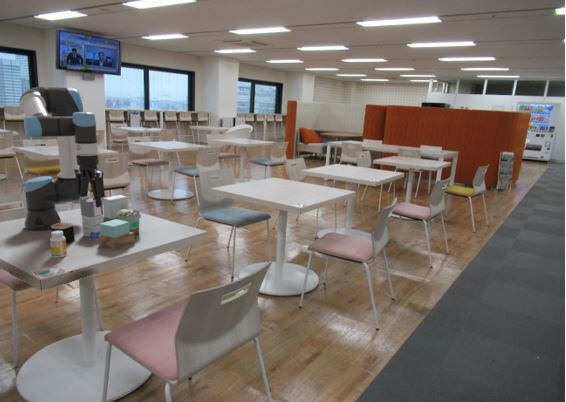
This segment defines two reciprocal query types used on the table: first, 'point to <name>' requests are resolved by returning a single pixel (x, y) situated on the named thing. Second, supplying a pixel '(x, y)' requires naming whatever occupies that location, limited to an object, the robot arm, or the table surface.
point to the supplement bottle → (58, 244)
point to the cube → (88, 207)
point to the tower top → (114, 228)
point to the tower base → (116, 241)
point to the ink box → (92, 225)
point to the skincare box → (114, 205)
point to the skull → (122, 213)
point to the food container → (132, 221)
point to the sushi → (65, 231)
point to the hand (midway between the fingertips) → (92, 213)
